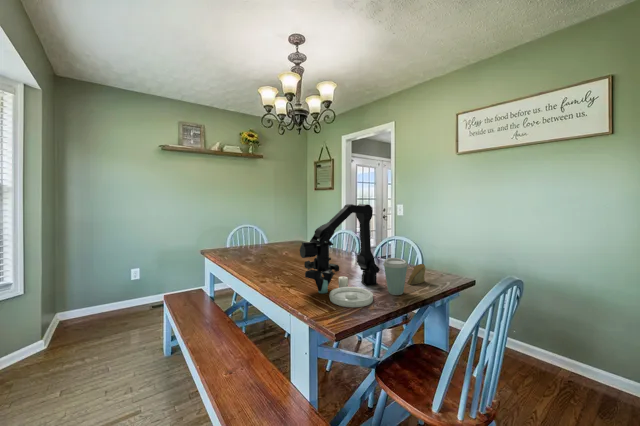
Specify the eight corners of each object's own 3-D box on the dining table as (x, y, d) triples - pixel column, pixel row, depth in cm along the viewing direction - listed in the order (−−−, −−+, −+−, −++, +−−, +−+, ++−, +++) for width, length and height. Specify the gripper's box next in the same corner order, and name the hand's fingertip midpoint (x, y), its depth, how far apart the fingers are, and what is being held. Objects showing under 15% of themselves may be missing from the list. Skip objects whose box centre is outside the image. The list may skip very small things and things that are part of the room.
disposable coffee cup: (411, 296, 125) (412, 262, 124) (388, 297, 123) (388, 263, 122) (401, 288, 135) (401, 257, 134) (379, 289, 133) (379, 258, 133)
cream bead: (346, 286, 139) (346, 276, 139) (349, 289, 135) (349, 278, 134) (337, 287, 138) (337, 276, 137) (340, 289, 133) (340, 279, 133)
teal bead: (326, 289, 133) (326, 279, 133) (328, 292, 129) (328, 282, 129) (317, 290, 132) (316, 280, 132) (319, 293, 128) (319, 282, 127)
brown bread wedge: (410, 282, 137) (430, 279, 138) (404, 265, 142) (424, 262, 142) (405, 289, 146) (424, 286, 147) (400, 274, 151) (418, 271, 152)
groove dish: (362, 290, 132) (362, 285, 132) (380, 304, 115) (380, 298, 115) (324, 294, 127) (324, 289, 127) (337, 309, 110) (337, 303, 110)
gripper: (321, 250, 142) (321, 281, 143) (295, 256, 127) (295, 291, 128) (339, 253, 135) (339, 285, 136) (315, 260, 120) (315, 296, 121)
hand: (322, 289), depth 130 cm, fingers closed on teal bead, 4 cm apart
